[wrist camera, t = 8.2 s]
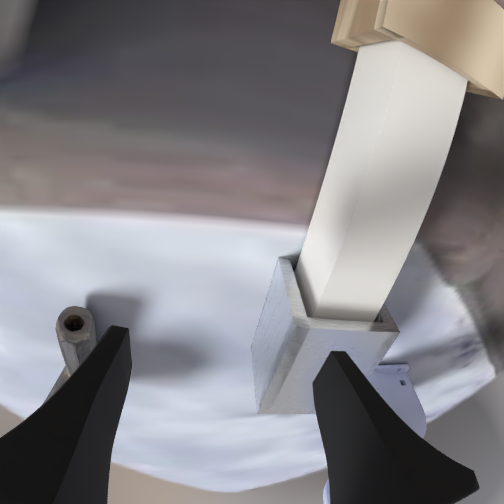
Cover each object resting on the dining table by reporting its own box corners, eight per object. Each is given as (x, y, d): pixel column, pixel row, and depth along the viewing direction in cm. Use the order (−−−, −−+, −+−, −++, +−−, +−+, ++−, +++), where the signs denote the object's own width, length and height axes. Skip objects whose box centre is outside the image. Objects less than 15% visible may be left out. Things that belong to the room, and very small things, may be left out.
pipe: (116, 308, 22) (87, 392, 15) (119, 393, 28) (105, 457, 21) (50, 290, 21) (8, 363, 14) (67, 378, 27) (47, 439, 20)
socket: (444, 23, 12) (514, 19, 7) (431, 86, 15) (502, 100, 9) (346, -26, 11) (398, -63, 6) (330, 42, 14) (382, 26, 8)
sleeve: (363, 270, 22) (399, 332, 16) (323, 351, 26) (341, 412, 20) (278, 257, 21) (295, 326, 15) (251, 346, 25) (257, 413, 19)
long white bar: (421, 49, 13) (473, 49, 9) (345, 282, 22) (368, 330, 18) (365, 23, 13) (409, 9, 9) (293, 275, 21) (308, 327, 17)
